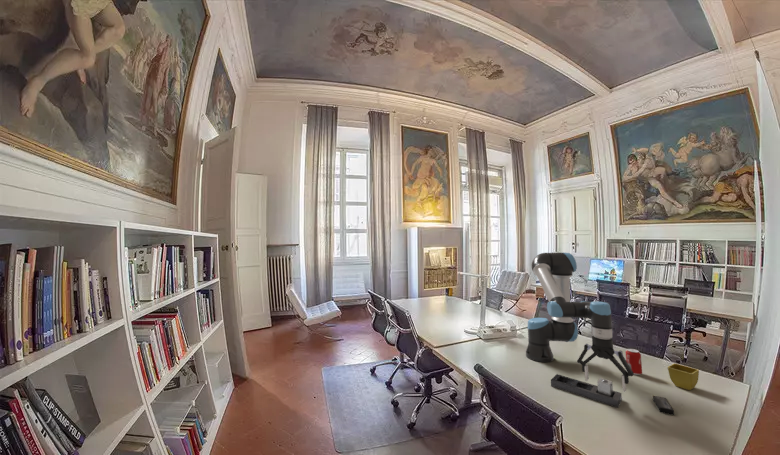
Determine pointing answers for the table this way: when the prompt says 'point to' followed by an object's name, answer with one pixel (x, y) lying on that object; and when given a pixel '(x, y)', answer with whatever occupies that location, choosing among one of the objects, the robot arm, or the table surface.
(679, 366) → the flower pot
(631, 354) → the beverage can
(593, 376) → the table surface
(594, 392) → the rack rail
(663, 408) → the multiport hub
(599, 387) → the block
